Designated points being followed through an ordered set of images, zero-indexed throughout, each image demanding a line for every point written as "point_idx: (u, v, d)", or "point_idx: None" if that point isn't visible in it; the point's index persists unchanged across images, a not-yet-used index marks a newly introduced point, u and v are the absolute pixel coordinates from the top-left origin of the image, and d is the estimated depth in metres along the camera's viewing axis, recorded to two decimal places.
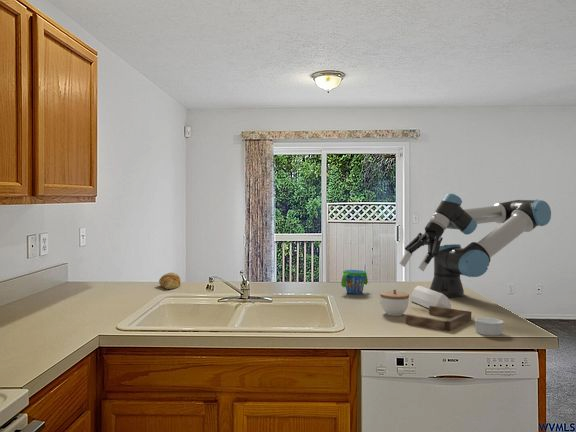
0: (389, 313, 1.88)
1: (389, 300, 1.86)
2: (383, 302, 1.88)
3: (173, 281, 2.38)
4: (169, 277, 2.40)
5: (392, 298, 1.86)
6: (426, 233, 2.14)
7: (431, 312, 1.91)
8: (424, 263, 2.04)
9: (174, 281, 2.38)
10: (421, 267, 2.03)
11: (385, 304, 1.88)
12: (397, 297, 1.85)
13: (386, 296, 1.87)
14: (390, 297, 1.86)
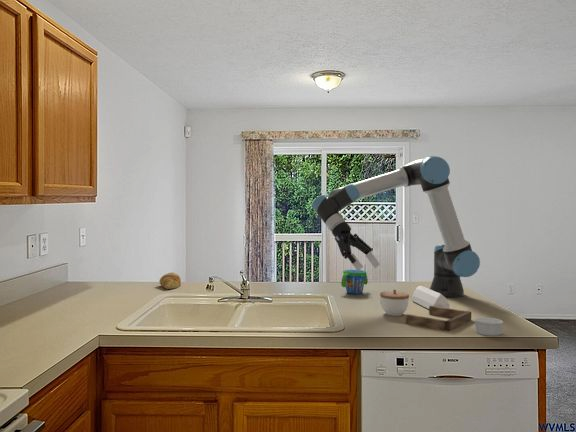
0: (389, 313, 1.88)
1: (389, 300, 1.86)
2: (383, 302, 1.88)
3: (173, 281, 2.38)
4: (169, 277, 2.40)
5: (392, 298, 1.86)
6: None
7: (431, 312, 1.91)
8: (355, 263, 1.93)
9: (174, 281, 2.38)
10: (358, 268, 1.92)
11: (385, 304, 1.88)
12: (397, 297, 1.85)
13: (386, 296, 1.87)
14: (390, 297, 1.86)
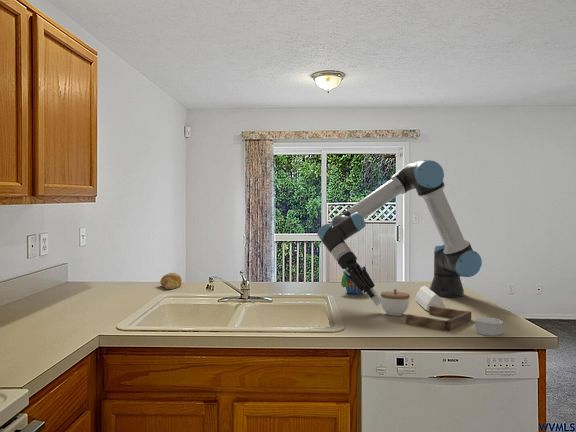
0: (389, 313, 1.88)
1: (390, 300, 1.86)
2: (384, 302, 1.88)
3: (173, 281, 2.38)
4: (170, 277, 2.40)
5: (393, 298, 1.85)
6: None
7: (431, 312, 1.91)
8: (373, 298, 1.94)
9: (174, 281, 2.38)
10: (376, 302, 1.94)
11: (385, 304, 1.87)
12: (398, 297, 1.85)
13: (387, 296, 1.87)
14: (390, 296, 1.86)
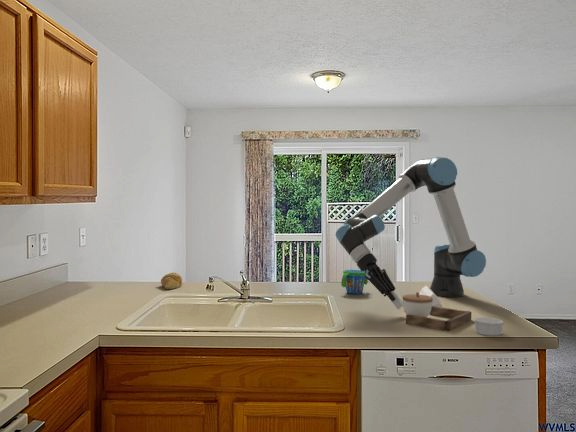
0: None
1: (412, 304, 1.80)
2: (406, 306, 1.82)
3: (173, 281, 2.38)
4: (170, 277, 2.40)
5: (416, 301, 1.79)
6: None
7: (431, 312, 1.91)
8: (395, 301, 1.88)
9: (174, 281, 2.38)
10: (398, 306, 1.88)
11: (408, 308, 1.81)
12: (421, 300, 1.79)
13: (409, 299, 1.81)
14: (413, 300, 1.80)
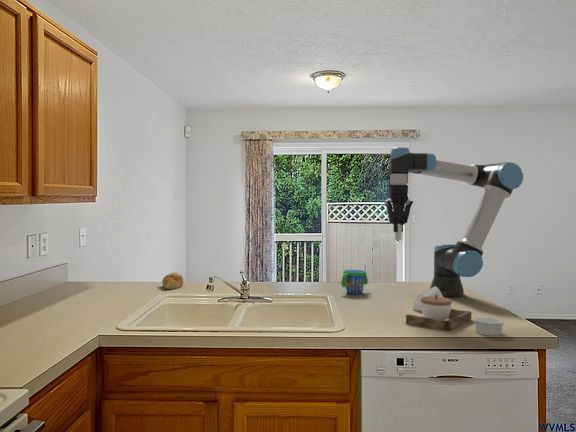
0: None
1: (431, 306, 1.76)
2: (424, 308, 1.79)
3: (173, 281, 2.37)
4: (170, 277, 2.40)
5: (434, 304, 1.76)
6: None
7: None
8: (396, 233, 2.13)
9: (174, 281, 2.37)
10: (396, 238, 2.14)
11: (426, 310, 1.78)
12: (440, 303, 1.75)
13: (428, 302, 1.77)
14: (432, 302, 1.76)
